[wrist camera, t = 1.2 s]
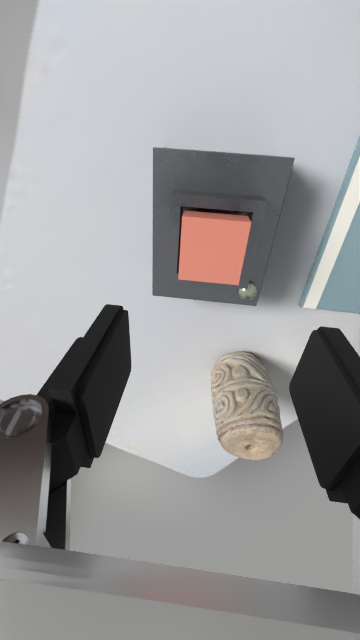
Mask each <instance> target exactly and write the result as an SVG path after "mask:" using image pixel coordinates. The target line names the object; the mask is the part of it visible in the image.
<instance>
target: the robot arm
mask: <svg viewBox="0 0 360 640" xmlns="http://www.w3.org/2000/svg"><path fill="white" fill-rule="evenodd" d="M130 372H131V352H130V335H129V318H128V311H127V310H123V307H122V306H118V305H108V304H107V305H105V306H104V308H103V309H102V311H101V312H100V314H99V315H98V317H97V318H96V320H95V321H94V322H93V324H92V325H91V327H90V328H89V330H88V331H87V333H86V334H85V336H84V337H79V338H77V339H76V341H75V342H74V343H73V345H72V346H71V347H70V349H69V350H68V352H67V353H66V354H65V356H64V357H63V359H62V360H61V362H60V363H59V364H58V366H57V367H56V369H55V370H54V371H53V373H52V374H51V376H50V377H49V378H48V380H47V381H46V383H45V384H44V385H43V387H42V388H41V390H40V391H39V392H38V394H37V395H32V394H28V395H20V396H16V397H13V398H10V399H8V400H6V401H4V402H2V403H1V404H0V640H360V357H359V355H358V354H357V353H356V351H355V350H354V348H353V347H352V346H351V344H350V343H349V341H348V340H347V339H346V337H345V336H344V334H343V333H342V332H341V330H340V329H337V328H329V327H319V328H318V329H317V330H314V331H313V332H312V333H311V335H310V337H309V340H308V342H307V345H306V347H305V349H304V352H303V354H302V356H301V359H300V361H299V363H298V366H297V368H296V371H295V373H294V375H293V378H292V380H291V382H290V387H289V390H290V395H291V398H292V401H293V404H294V407H295V410H296V414H297V417H298V420H299V423H300V426H301V429H302V432H303V435H304V438H305V441H306V444H307V447H308V451H309V453H310V457H311V460H312V463H313V466H314V469H315V472H316V475H317V478H318V481H319V484H320V486H321V487H322V488H325V489H326V492H327V494H328V497H329V500H330V501H335V502H342V503H348V505H349V507H350V510H351V512H352V513H353V594H352V593H346V592H339V591H333V590H327V589H320V588H313V587H307V586H300V585H294V584H288V583H281V582H274V581H268V580H261V579H255V578H248V577H242V576H235V575H229V574H222V573H215V572H209V571H203V570H196V569H189V568H183V567H177V566H170V565H163V564H157V563H149V562H143V561H136V560H129V559H123V558H116V557H109V556H102V555H96V554H89V553H82V552H76V551H70V499H71V498H70V497H71V494H70V493H71V478H72V477H73V476H75V475H76V474H77V473H78V471H79V469H80V467H86V468H90V467H91V464H92V462H93V459H94V457H95V458H99V457H100V455H101V453H102V450H103V447H104V444H105V442H106V439H107V436H108V433H109V431H110V428H111V425H112V422H113V420H114V417H115V414H116V411H117V408H118V406H119V403H120V400H121V397H122V395H123V392H124V389H125V386H126V384H127V381H128V378H129V375H130Z"/></svg>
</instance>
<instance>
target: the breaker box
mask: <svg viewBox="0 0 360 640" xmlns="http://www.w3.org/2000/svg"><path fill="white" fill-rule="evenodd" d="M293 162H294V158H290V157H280V156H267V155H253V154H240V153H226V152H213V151H199V150H186V149H172V148H154V147H153V295H154V296H164V297H174V298H184V299H194V300H203V301H213V302H223V303H233V304H242V305H252V306H256V305H257V301H258V297H259V293H260V289H261V285H262V282H263V278H264V274H265V270H266V266H267V262H268V258H269V255H270V251H271V247H272V243H273V239H274V235H275V231H276V228H277V224H278V220H279V216H280V212H281V208H282V205H283V201H284V197H285V193H286V189H287V185H288V181H289V178H290V174H291V170H292V166H293ZM184 211H197V212H209V213H220V214H232V215H244V216H248V217H249V219H250V221H251V227H250V232H249V236H248V241H247V246H246V251H245V256H244V261H243V266H242V271H241V275H240V280H239V285H230V284H220V283H210V282H200V281H190V280H180V279H178V275H179V259H180V243H181V228H182V216H183V213H184Z"/></svg>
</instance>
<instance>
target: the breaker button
mask: <svg viewBox="0 0 360 640" xmlns="http://www.w3.org/2000/svg"><path fill="white" fill-rule="evenodd" d="M250 227H251V221H250V219H249V217H248V216H244V215H232V214H220V213H209V212H197V211H184V213H183V216H182V228H181V243H180V259H179V275H178V279H180V280H190V281H200V282H210V283H220V284H230V285H239V280H240V275H241V271H242V266H243V261H244V256H245V251H246V246H247V241H248V236H249V232H250Z"/></svg>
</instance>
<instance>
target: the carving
mask: <svg viewBox="0 0 360 640" xmlns="http://www.w3.org/2000/svg"><path fill="white" fill-rule="evenodd" d="M211 376H212V378H211V392H212V403H213V416H214V421H215V426H216V433H217V435H218V440H219V441H220V443H221V446H222V447H223V449H224V450H226V451H227V452H229V453H230V454H232V455H234V456H237V457H240V458H243V459H247V460H262V459H266V458H268V457H270V456H272V455H273V454H274V453H275V451H276V450H278V449H279V448H280V447H281V445H282V442H283V430H282V425H281V420H280V411H279V406H278V400H277V396H276V391H275V388H274V386H273V384H272V382H271V380H270V378H269V376H268V373H267V371H266V369H265V367H264V366H263V365H262V364H261V362H260V361H259V360H258V359H257V358H256V357H255V356H254V355H252V354H250V353H246V352H235V353H231V354H227V355H225V356H223V357H222V358H221V359H220V360H219V361H218V362H217V363H216V364H215V366H214V368H213V370H212V374H211Z"/></svg>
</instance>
